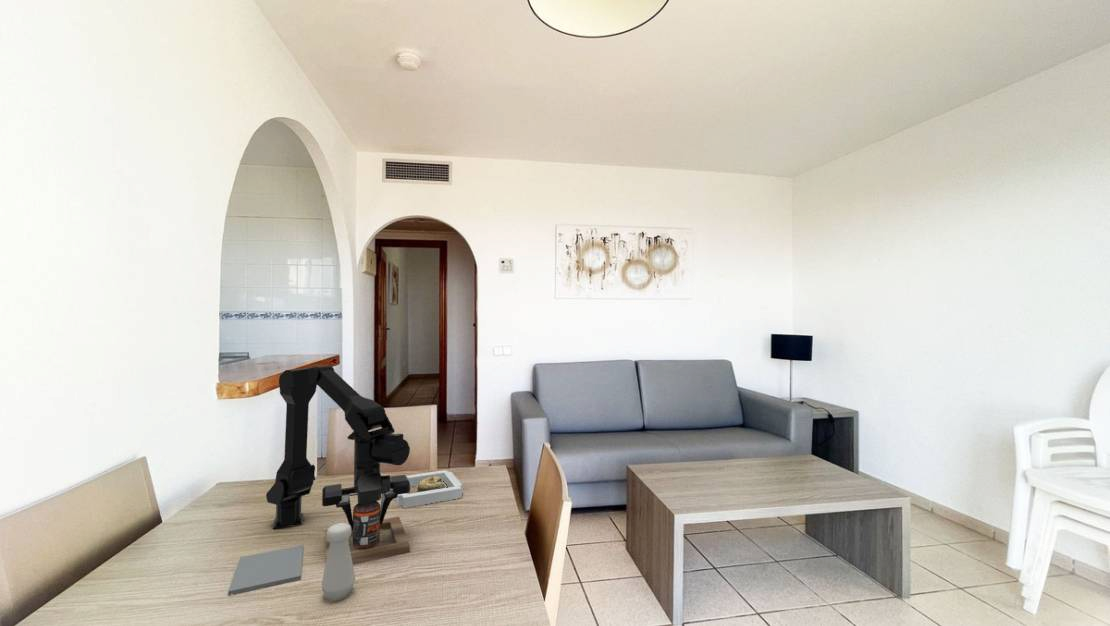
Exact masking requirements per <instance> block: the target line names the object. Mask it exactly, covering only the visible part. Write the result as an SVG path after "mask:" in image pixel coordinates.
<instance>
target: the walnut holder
mask: <svg viewBox="0 0 1110 626" xmlns="http://www.w3.org/2000/svg"><path fill="white" fill-rule="evenodd" d="M328 529H329V528H327V529H325V562H326V561H327V556H328V551H329V546H330V542H329V541H327V530H328ZM386 529H389V530H390V532H391V535H392V539H393V541H394V543H391V544H385V545H379V546H376V547H375V546H374V547H370V548H366V549H360V550H357V551H350V553H351V558H352V564H353V565H358V564H362V563H366V562H372V561H376V560H380V559H381V560H382V559H385V558H389V557H394V556H398V555H403V554H408V553H410V552H411V545H410V542H409V539H408V537H407V533H406V531H405V528H404V526H403V523H402V521H401V518H400V516H394V517H388V518H384V520H383V523H382V524H380V531H382V530H386ZM351 536H353V530H351Z"/></svg>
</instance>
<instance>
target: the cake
mask: <svg viewBox="0 0 1110 626" xmlns="http://www.w3.org/2000/svg"><path fill="white" fill-rule="evenodd" d="M441 480H442V479H441V478H440V477H436V476H435V477H434V476H433V475H432V477H429V478H427V479H423V480H421V481H420V482H419V484H418V486H417V489H416V490H417V491H416V492H415V493H417V492H423V491H429V490H436V489H442V488H445V487H446V484H445V483H444V482H442V481H441Z"/></svg>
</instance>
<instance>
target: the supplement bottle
mask: <svg viewBox="0 0 1110 626" xmlns="http://www.w3.org/2000/svg"><path fill="white" fill-rule="evenodd" d="M380 507H381V503H380V502H379V501H369V502H365V503H359V502H358V501H357V503H356V504H355V505H354V506H353V510H352V519H353V535H352V536H351V537H352V541H351V542H352V546H353V547H354V548H355V549H360V550H365V549H370V548H374V547H375V546H377V544H378V543H379V542H380V537H381V536H380V535H381V532H380V531H381V530H380Z"/></svg>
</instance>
